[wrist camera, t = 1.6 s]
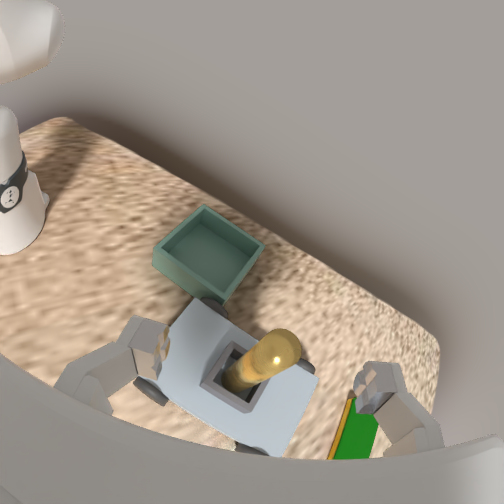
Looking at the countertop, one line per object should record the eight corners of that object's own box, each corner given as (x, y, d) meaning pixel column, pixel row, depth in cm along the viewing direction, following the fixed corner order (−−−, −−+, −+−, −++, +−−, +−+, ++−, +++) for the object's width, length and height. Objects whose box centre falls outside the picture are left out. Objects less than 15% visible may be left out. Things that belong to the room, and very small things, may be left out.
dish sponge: (321, 469, 33) (330, 470, 31) (346, 398, 42) (354, 396, 40) (353, 477, 33) (362, 478, 31) (374, 410, 42) (382, 408, 40)
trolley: (131, 383, 33) (126, 373, 27) (194, 304, 44) (203, 281, 38) (262, 464, 31) (285, 469, 26) (307, 378, 42) (333, 366, 36)
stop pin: (216, 383, 33) (255, 353, 22) (229, 362, 35) (274, 321, 24) (239, 397, 33) (291, 375, 22) (252, 376, 35) (307, 342, 24)
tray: (152, 265, 45) (153, 247, 41) (198, 221, 54) (203, 203, 50) (217, 314, 44) (225, 300, 40) (256, 261, 53) (265, 245, 49)
